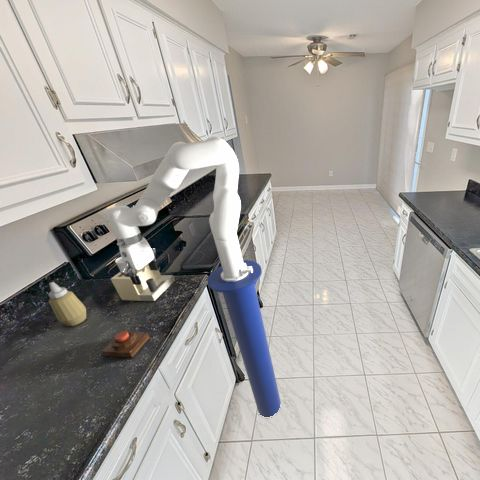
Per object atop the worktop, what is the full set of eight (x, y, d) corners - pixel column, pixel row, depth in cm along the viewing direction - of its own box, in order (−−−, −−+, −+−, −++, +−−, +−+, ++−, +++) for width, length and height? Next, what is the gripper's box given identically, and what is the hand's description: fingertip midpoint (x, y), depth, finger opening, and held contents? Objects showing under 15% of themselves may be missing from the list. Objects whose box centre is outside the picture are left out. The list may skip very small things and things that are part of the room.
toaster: (175, 280, 116) (167, 260, 111) (154, 301, 104) (144, 279, 99) (145, 280, 118) (136, 259, 113) (121, 300, 106) (110, 278, 101)
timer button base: (149, 337, 87) (145, 328, 85) (132, 357, 80) (127, 348, 78) (123, 336, 88) (118, 327, 86) (104, 356, 81) (98, 347, 79)
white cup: (146, 273, 123) (138, 255, 119) (130, 282, 117) (121, 264, 113) (136, 270, 127) (128, 252, 122) (120, 279, 120) (111, 261, 116)
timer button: (132, 334, 84) (130, 330, 83) (123, 343, 81) (121, 339, 80) (122, 334, 84) (120, 330, 83) (113, 342, 81) (111, 339, 80)
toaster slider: (158, 288, 106) (154, 278, 104) (154, 292, 104) (150, 282, 102) (153, 287, 107) (148, 278, 104) (148, 291, 104) (144, 282, 102)
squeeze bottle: (74, 314, 100) (49, 277, 92) (95, 312, 100) (72, 275, 92) (57, 330, 93) (28, 291, 84) (79, 328, 93) (53, 289, 85)
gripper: (120, 250, 86) (139, 290, 94) (155, 229, 102) (168, 265, 109) (101, 250, 87) (121, 290, 95) (138, 229, 102) (152, 265, 110)
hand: (146, 276), depth 102 cm, fingers open, 9 cm apart
